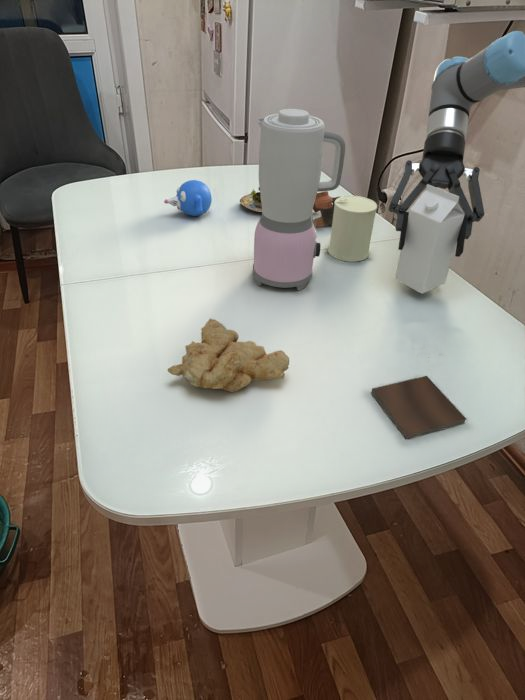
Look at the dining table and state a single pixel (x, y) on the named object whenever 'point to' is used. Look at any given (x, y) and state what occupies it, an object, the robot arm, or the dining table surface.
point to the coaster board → (417, 406)
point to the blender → (291, 195)
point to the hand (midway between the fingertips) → (429, 250)
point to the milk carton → (430, 240)
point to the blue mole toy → (192, 198)
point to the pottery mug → (324, 209)
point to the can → (352, 228)
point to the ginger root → (228, 360)
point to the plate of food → (252, 201)
